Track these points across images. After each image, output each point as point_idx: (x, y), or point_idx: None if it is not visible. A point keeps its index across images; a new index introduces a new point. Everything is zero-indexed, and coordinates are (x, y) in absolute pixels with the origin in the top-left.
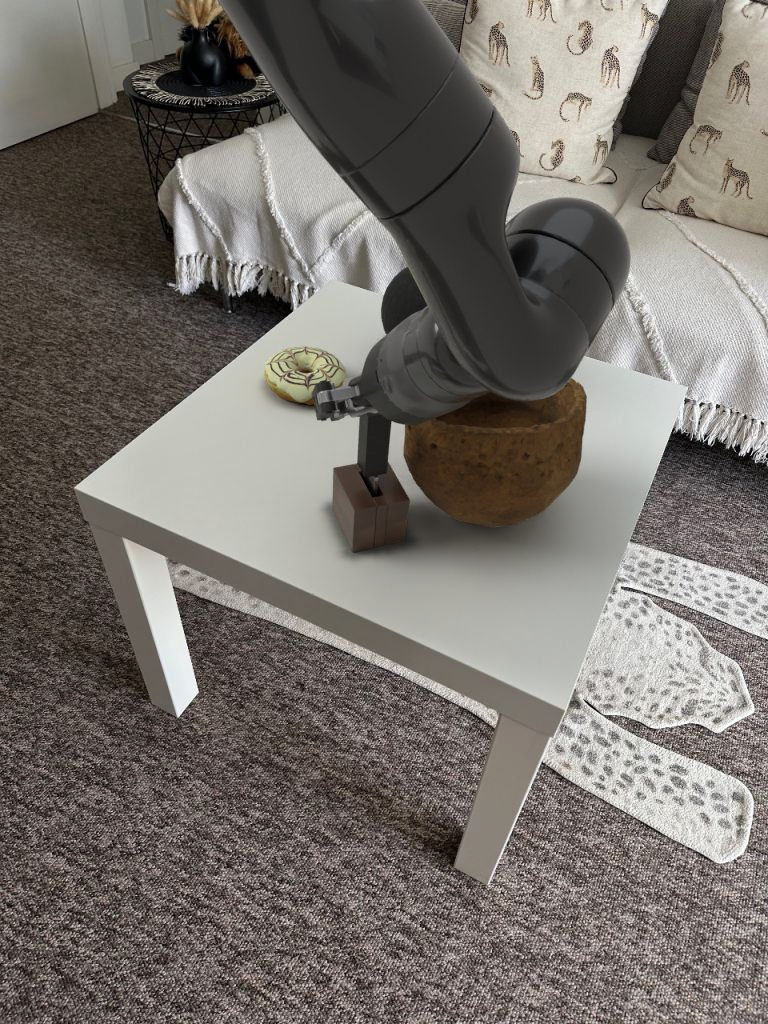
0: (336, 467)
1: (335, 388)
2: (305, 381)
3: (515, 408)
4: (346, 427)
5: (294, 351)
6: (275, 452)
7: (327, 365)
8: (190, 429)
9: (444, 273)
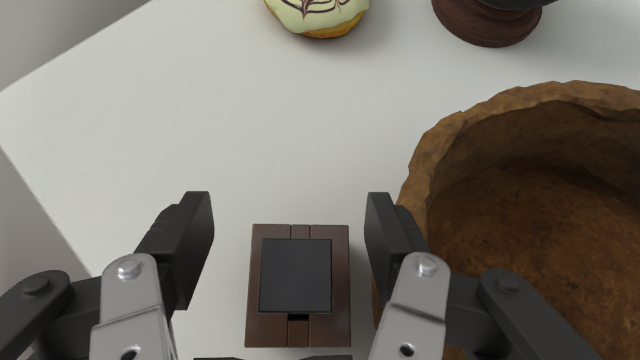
0: (257, 225)
1: (122, 272)
2: (303, 4)
3: (625, 201)
4: (340, 89)
5: None
6: (230, 109)
7: None
8: (142, 39)
9: None
